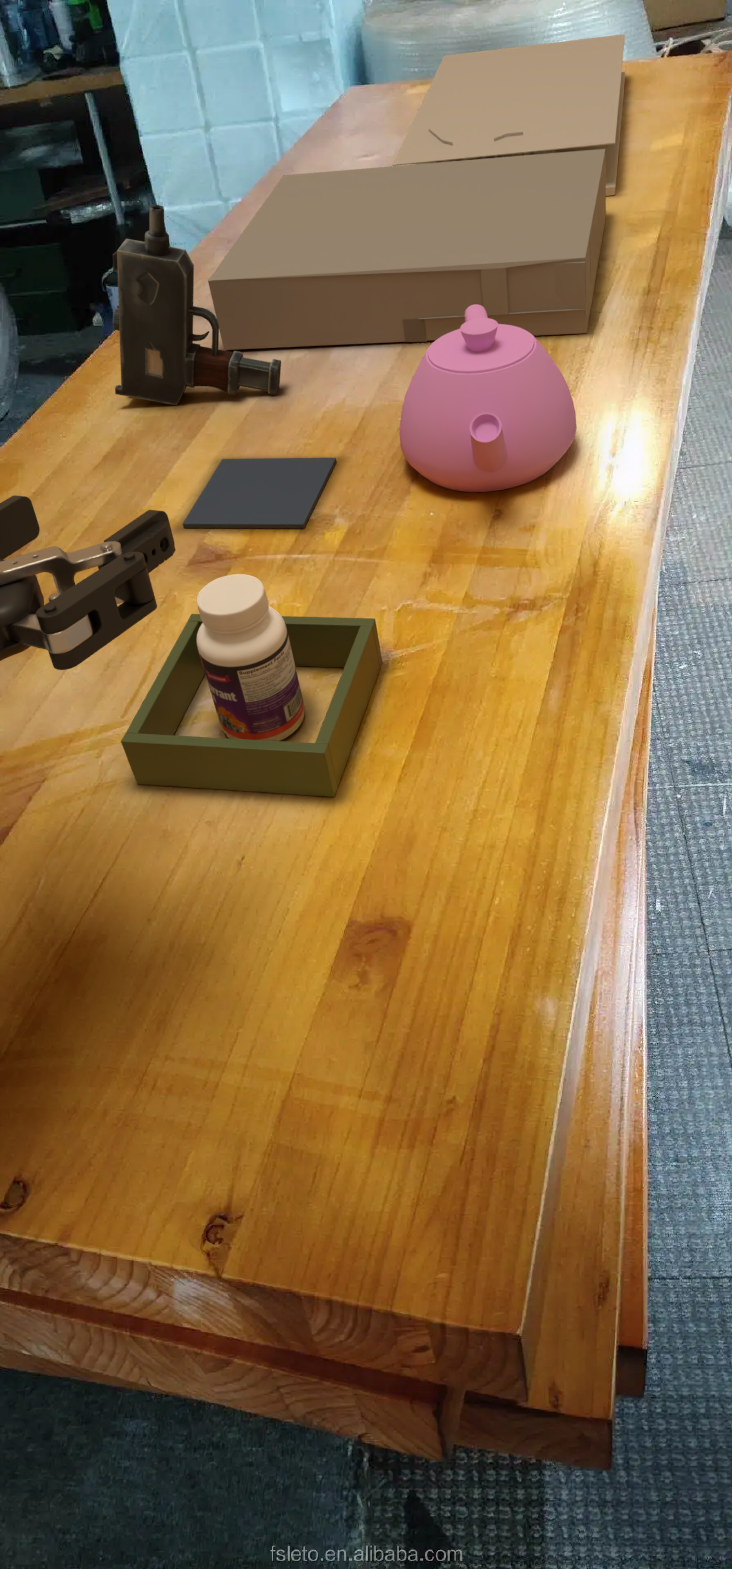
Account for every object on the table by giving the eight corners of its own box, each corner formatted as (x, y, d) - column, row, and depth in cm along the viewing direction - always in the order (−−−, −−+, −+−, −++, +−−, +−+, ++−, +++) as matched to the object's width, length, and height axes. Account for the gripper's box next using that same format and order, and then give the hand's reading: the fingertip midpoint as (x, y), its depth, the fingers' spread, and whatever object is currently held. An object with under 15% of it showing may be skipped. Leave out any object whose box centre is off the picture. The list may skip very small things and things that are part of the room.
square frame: (136, 784, 73) (120, 741, 70) (203, 655, 81) (191, 613, 79) (334, 797, 69) (324, 753, 67) (382, 661, 78) (375, 617, 76)
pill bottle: (209, 714, 77) (170, 588, 70) (284, 682, 78) (254, 555, 71) (241, 761, 73) (204, 633, 66) (320, 726, 74) (291, 597, 68)
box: (606, 216, 128) (605, 145, 123) (586, 333, 108) (585, 254, 104) (294, 240, 137) (282, 175, 132) (223, 353, 117) (206, 281, 112)
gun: (285, 236, 98) (106, 204, 98) (272, 423, 110) (113, 393, 110) (291, 224, 100) (115, 192, 100) (278, 409, 112) (121, 380, 112)
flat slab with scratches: (448, 97, 169) (444, 52, 165) (624, 78, 164) (625, 30, 160) (398, 214, 138) (392, 161, 134) (614, 194, 133) (614, 139, 129)
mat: (183, 528, 94) (182, 523, 94) (223, 462, 101) (222, 458, 100) (304, 528, 91) (303, 524, 91) (336, 461, 98) (336, 457, 98)
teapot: (402, 537, 88) (383, 403, 81) (403, 411, 103) (387, 287, 95) (592, 517, 87) (589, 377, 79) (565, 391, 101) (561, 263, 94)
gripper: (-73, 634, 41) (197, 454, 52) (-322, 588, 48) (-36, 437, 59) (-5, 806, 46) (231, 607, 56) (-241, 742, 52) (11, 575, 63)
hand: (95, 520), depth 58 cm, fingers open, 8 cm apart
